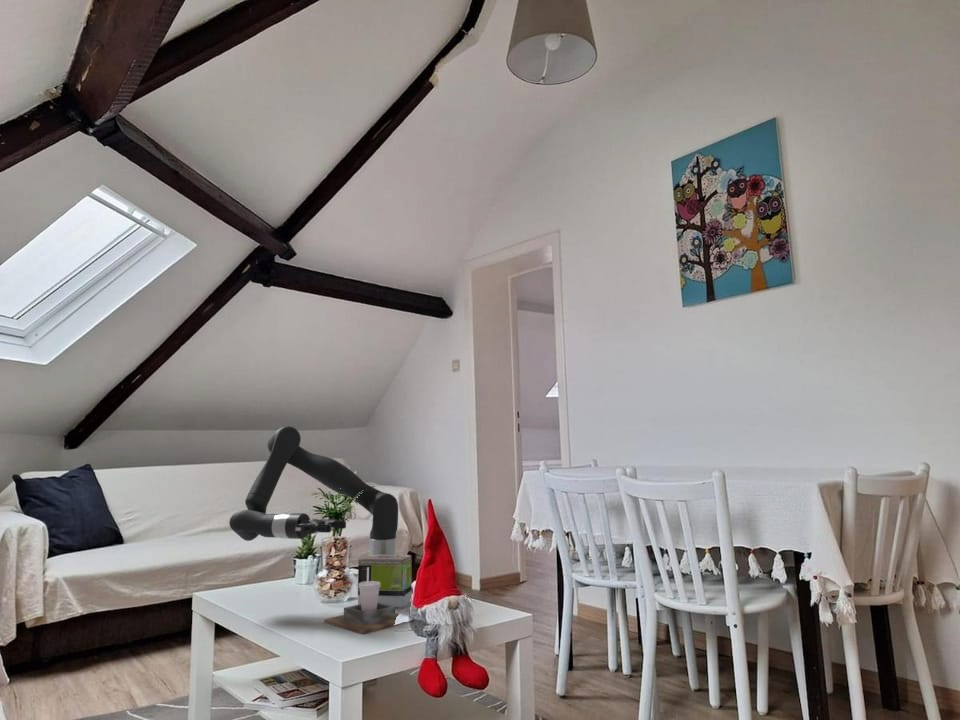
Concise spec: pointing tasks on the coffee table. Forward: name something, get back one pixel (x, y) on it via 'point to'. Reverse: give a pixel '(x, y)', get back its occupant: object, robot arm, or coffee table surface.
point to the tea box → (388, 577)
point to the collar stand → (365, 618)
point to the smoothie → (369, 594)
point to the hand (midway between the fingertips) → (338, 526)
